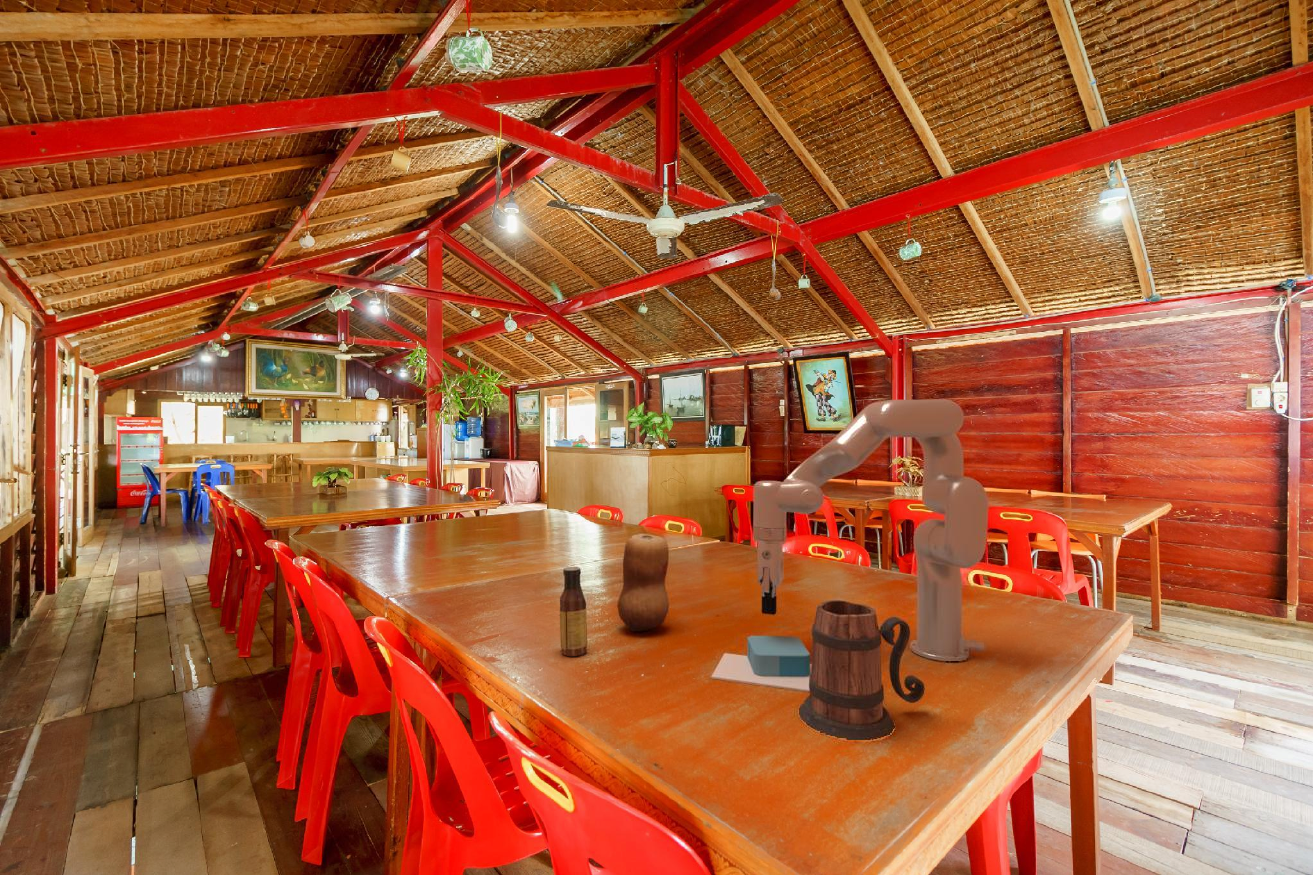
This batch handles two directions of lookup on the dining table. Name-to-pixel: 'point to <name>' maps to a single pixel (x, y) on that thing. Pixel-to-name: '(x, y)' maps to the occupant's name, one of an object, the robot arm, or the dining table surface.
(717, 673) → the mat
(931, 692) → the dining table surface
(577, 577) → the sauce bottle
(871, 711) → the tankard
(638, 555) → the butternut squash
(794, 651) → the data package
